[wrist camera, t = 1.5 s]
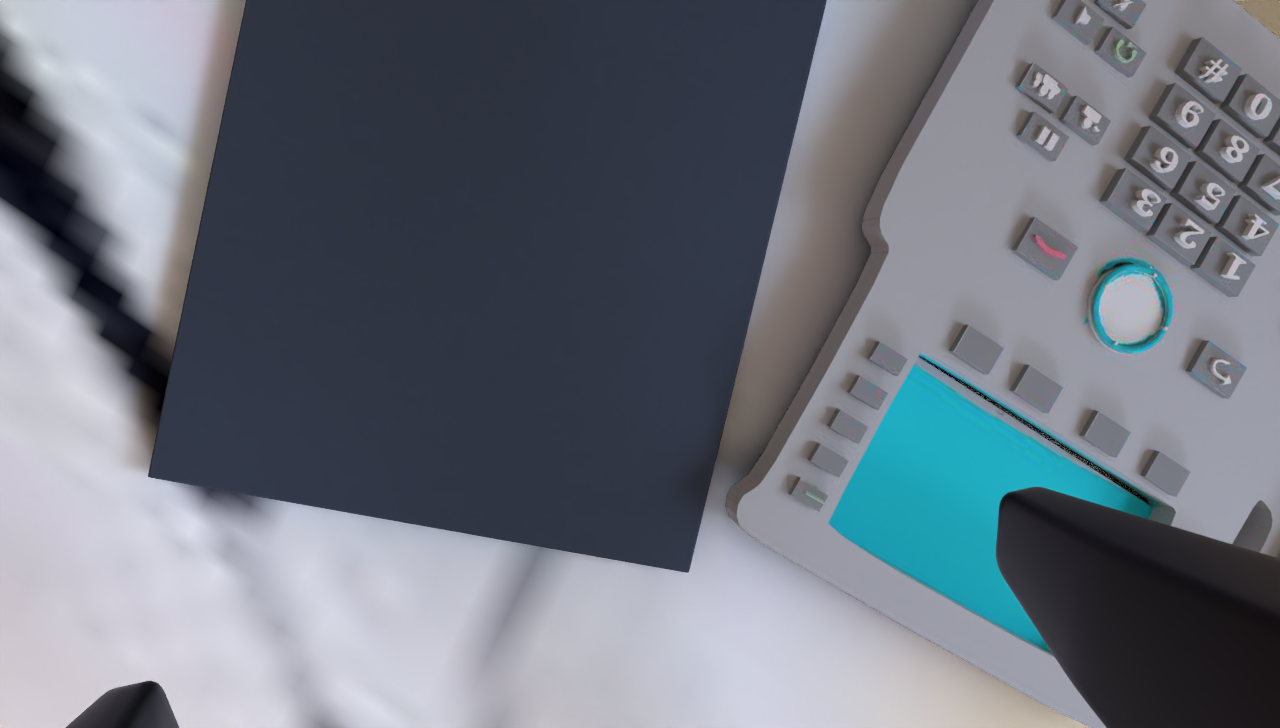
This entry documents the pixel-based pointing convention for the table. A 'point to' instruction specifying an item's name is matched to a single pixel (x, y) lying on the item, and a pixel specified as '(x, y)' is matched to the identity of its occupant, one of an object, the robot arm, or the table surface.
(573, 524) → the desk pad
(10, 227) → the table surface
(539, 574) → the table surface
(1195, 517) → the office telephone
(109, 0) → the table surface
